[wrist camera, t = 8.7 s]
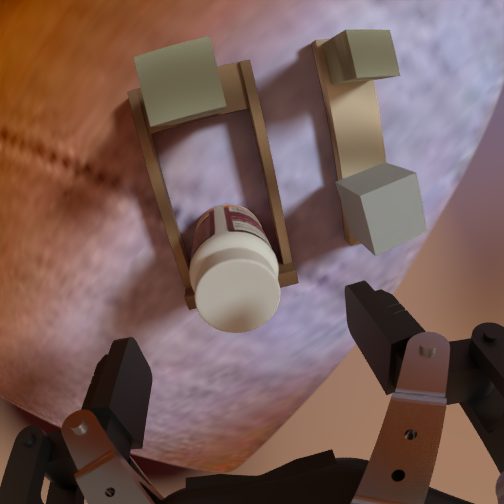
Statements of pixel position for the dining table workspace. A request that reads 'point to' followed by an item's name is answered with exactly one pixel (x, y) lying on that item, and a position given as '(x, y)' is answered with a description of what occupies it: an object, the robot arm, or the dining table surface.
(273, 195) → the open wooden frame
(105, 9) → the dining table surface
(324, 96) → the birch slat
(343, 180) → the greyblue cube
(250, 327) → the pill bottle
